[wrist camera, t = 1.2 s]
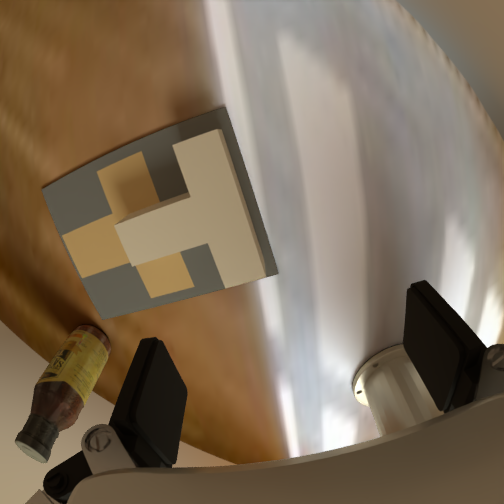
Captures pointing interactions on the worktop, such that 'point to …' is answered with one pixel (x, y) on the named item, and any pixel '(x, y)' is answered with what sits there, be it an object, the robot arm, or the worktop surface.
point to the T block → (199, 215)
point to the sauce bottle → (63, 390)
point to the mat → (133, 199)
